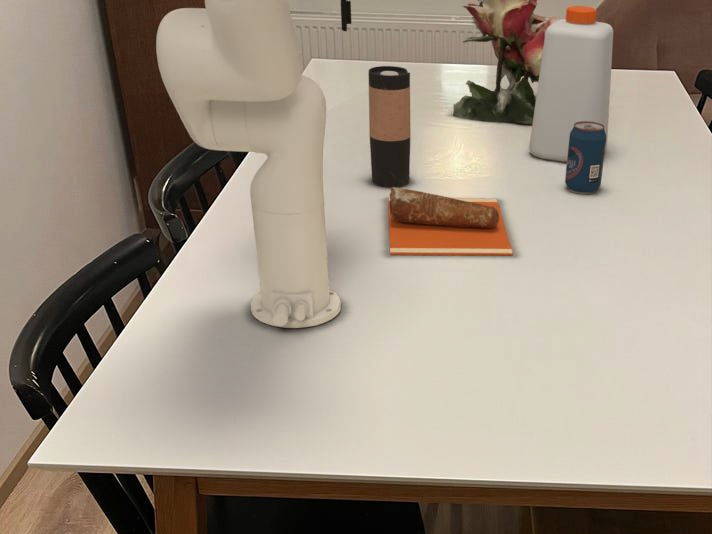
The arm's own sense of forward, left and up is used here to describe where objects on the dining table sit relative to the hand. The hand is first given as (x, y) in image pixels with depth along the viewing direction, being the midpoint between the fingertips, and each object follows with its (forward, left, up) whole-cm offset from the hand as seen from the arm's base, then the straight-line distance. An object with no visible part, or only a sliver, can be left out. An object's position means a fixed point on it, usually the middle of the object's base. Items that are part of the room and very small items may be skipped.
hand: (311, 28), depth 136 cm
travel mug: (+29, -11, -32) cm, 44 cm away
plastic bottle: (+49, -49, -32) cm, 76 cm away
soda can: (+26, -48, -32) cm, 63 cm away
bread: (+6, -20, -32) cm, 38 cm away
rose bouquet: (+83, -42, -32) cm, 98 cm away
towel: (+6, -21, -32) cm, 39 cm away
